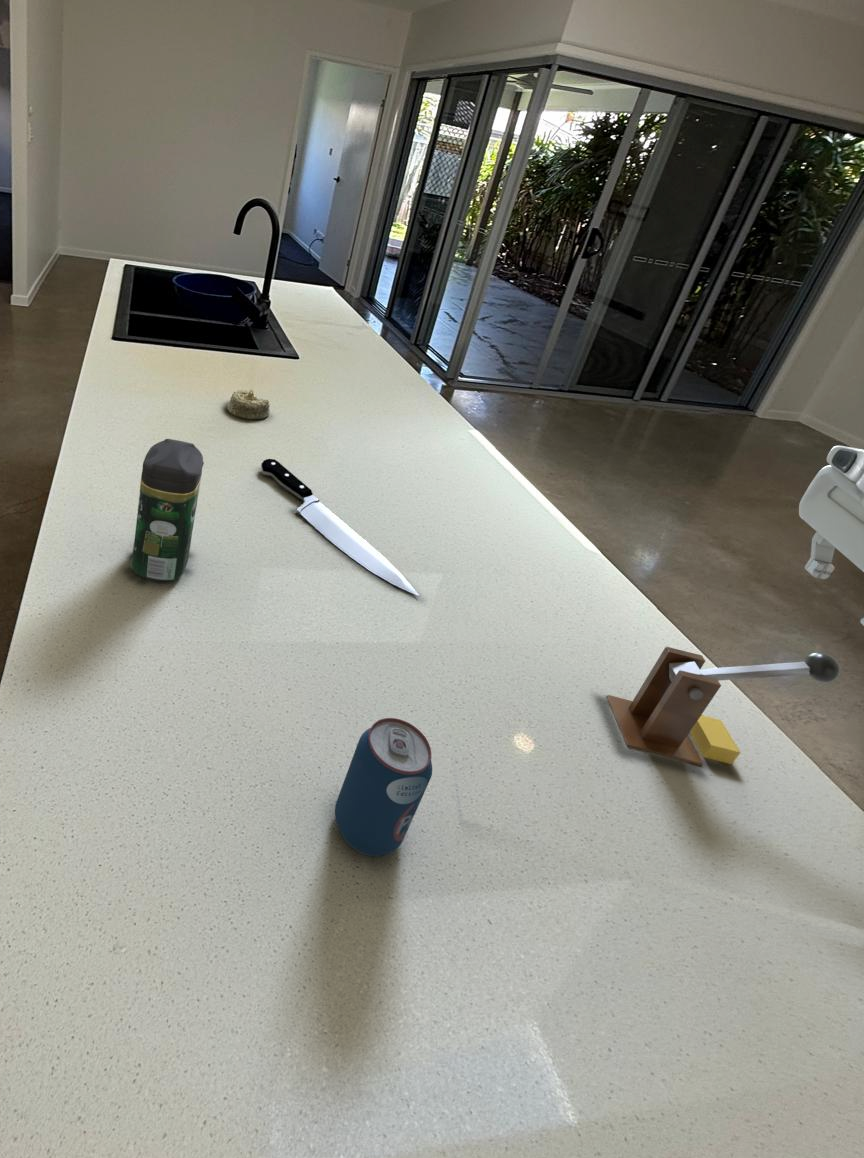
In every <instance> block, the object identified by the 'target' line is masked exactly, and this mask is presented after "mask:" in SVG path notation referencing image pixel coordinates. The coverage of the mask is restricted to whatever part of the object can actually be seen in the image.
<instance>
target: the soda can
mask: <svg viewBox="0 0 864 1158" xmlns="http://www.w3.org/2000/svg"><path fill="white" fill-rule="evenodd" d="M351 758H352V759H351V761H350V764H349V766H348V769H347V772H346V775H345V778H344V780H343V783H342V785H341V788H340V791H339V793H338V797H337V798H336V802H335V805H334V806H335V807H334V816H335V821H336V825H337V828H338V830H339V832H340V834H341V836H342V838H343V840H344V841H345V842H346V843H347V844H348V845H349V846H350V847H351V848H352V849H353V850H355V851H356V852H358V853H360V854H362V855H365V856H367V857H368V856H369V857H379V856H385V855H386V856H387V855H389V854H391V853H393V852H395V851H396V850H397V849H399V847H400V846H401V845H402V844H403V841H404V839H405V837H406V835H407V833H408V830H409V828H410V826H411V824H412V822H413V819H414V817H415V815H416V813H417V809H418V808H419V806H420V804H421V801H422V799H423V796H424V795H425V792H426V790H427V789H428V785H429V783H430V781H431V779H432V776H433V763H432V748H431V745H430V742H429V741H428V739H427V738H426V736H425V735H424V734H423V732H421V730H419V728H417V727H416V726H415V725H413V724H411V723H410V722H408V721H406V720H403V719H400V718H396V717H386V718H381V719H378V720H377V721H375V722H374V723H373V724H372V725H371V727H369V728H368V729H366V730H364V732H363V733H362V734H361V735H360V736H359V739H358V741H357V744H356V747H355V750H354V753H353V756H352V757H351Z"/></svg>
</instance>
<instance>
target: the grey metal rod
mask: <svg viewBox="0 0 864 1158" xmlns="http://www.w3.org/2000/svg"><path fill="white" fill-rule="evenodd" d="M679 670H681V671H685V672H689V673H693V674H697V675H701V676H705V677H709V678H713V679H717V680H718V681H719V682H720V681H732V680H735V681H736V680H748V679H749V680H750V679H761V678H763V679H764V678H776V677H777V678H778V677H780V678H781V677H792V676H795V677H796V676H809V677H811V679H813V680H815V681H818V682H823V683H828V682H829V683H830V682H833V681H835V680H837V679H838V678H839V676H840V675H841V666H840V663H839V662H838V660H837V659H836V658H835V657H833V656H832V655H830V654H829V653H825V652H816V651H815V652H812V653H810V654H808V655H807V656H806V657H805V658H804V661H795V662H793V661H792V662H781V663H766V664H753V665H751V664H750V665H737V666H723V667H710V668H708V667H707V668H701V669H699V668H698V666H697V664H696V663H695V661H693V662H680V663H669V679H670V680H671V682H672V681H673V679H674V678H675V676H676V675H677V673H678V672H679Z"/></svg>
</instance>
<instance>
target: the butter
mask: <svg viewBox="0 0 864 1158" xmlns="http://www.w3.org/2000/svg"><path fill="white" fill-rule="evenodd" d="M689 734H690V736H691V737H692V740H693V741H694V743H695V745H696V747H697V749H698V751H699V753H700V755H701V756H702V757H703V758H706V759H709V760H714V761H717V762H720V763H724V764H728V765H733V763H735V761H736V759H737V758H738V757H739V755H740V754H741V751H740V749H739V748H738V746H737V744H736V743H735V741H734V739H733V738H732V736H731V734H730V733H729V731H728V729H727V728H726V726H725V723H724V722H723V721H722V720H721V719H719V718H714V717H711V716H707V715H703V714H702V715H701V716H700V718H699V719H698V721H697V722H696V724H695V725H694V726H693V728H692V729H691V731H690V732H689Z"/></svg>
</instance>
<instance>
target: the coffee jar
mask: <svg viewBox="0 0 864 1158" xmlns="http://www.w3.org/2000/svg"><path fill="white" fill-rule="evenodd" d="M204 465H205V462H204V456H203V454H202V452H201V451H200V450H199V448H198V447H196V445H195V444H194V443H191V442H188V441H183V440H178V439H172V438H166V439H164V440H161V441H158V442H157V443H155V444H153V445H151V447H150V448H149V450H148V451H147V453H146V454H145V457H144V459H143V462H142V469H141V474H140V486H139V496H138V506H137V513H136V523H135V533H134V540H133V548H132V556H131V563H130V564H131V569H132V570H133V572H134V573H135V574H137V575H138V576H140V577H142V578H144V579H147V580H149V581H153V582H159V583H160V582H162V583H163V582H173V581H176V580H178V579H180V578H181V577H182V576H183V574H184V572H185V570H186V568H187V565H188V562H189V557H190V550H191V543H192V538H193V537H192V536H193V530H194V524H195V517H196V511H197V507H198V499H199V494H200V493H199V492H200V487H201V480H202V476H203V475H202V473H203V467H204Z"/></svg>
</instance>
